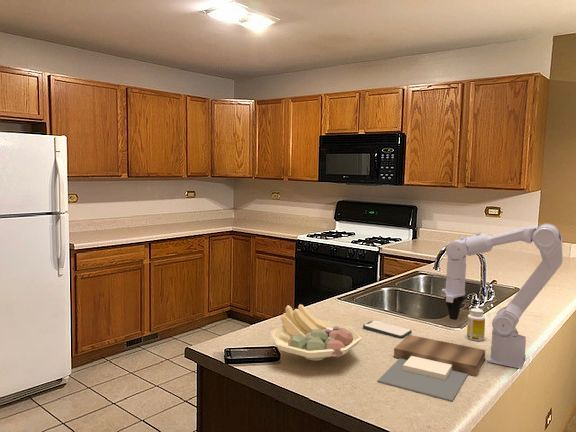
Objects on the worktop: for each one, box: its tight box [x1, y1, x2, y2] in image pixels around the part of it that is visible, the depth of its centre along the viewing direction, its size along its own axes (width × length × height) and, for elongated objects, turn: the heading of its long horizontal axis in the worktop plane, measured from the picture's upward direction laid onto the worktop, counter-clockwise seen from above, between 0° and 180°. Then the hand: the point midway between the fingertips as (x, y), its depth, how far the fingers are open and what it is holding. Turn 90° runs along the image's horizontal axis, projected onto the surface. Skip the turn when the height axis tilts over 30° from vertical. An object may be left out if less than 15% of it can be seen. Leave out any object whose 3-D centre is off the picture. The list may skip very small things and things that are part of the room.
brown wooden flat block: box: [393, 334, 486, 377], centre depth 144 cm, size 24×14×3 cm, turn 57°
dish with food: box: [269, 303, 362, 362], centre depth 144 cm, size 28×28×14 cm
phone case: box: [362, 319, 412, 339], centre depth 169 cm, size 9×2×16 cm
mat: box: [377, 358, 469, 402], centre depth 130 cm, size 20×18×1 cm
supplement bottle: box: [466, 307, 486, 342], centre depth 160 cm, size 6×6×10 cm
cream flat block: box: [403, 356, 452, 380], centre depth 135 cm, size 12×8×2 cm, turn 58°
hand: (453, 318), depth 150 cm, fingers closed
